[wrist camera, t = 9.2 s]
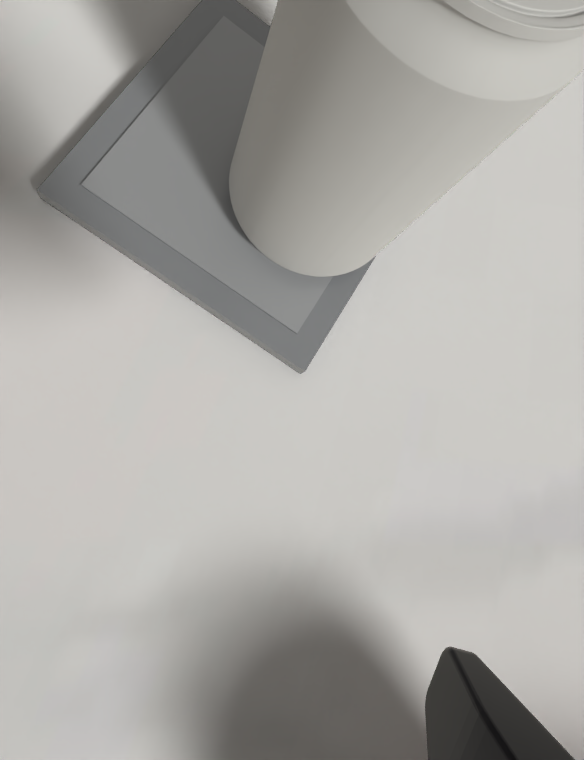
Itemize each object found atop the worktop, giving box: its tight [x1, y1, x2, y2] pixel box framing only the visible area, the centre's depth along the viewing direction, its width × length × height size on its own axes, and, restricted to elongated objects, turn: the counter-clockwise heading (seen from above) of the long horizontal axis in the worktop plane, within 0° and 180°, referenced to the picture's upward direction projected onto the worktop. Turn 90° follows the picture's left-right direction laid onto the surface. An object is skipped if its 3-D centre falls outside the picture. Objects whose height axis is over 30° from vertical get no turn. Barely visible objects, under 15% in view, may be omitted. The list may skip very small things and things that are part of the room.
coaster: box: [37, 0, 376, 374], centre depth 20 cm, size 11×11×1 cm
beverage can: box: [229, 0, 584, 277], centre depth 14 cm, size 6×6×12 cm
